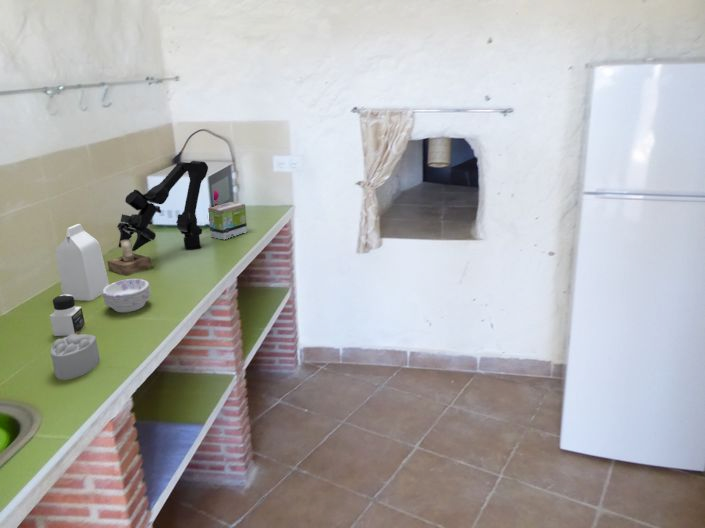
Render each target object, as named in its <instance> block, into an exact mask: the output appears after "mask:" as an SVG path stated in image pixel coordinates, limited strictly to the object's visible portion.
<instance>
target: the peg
mask: <svg viewBox="0 0 705 528" xmlns="http://www.w3.org/2000/svg"><path fill="white" fill-rule="evenodd" d="M119 241H120V240H119ZM120 242H121V252H122V256H123V259H124V262H126V263H128V262H131V261H134V256H133V253H134V251H132V248H133V245H132V240H131V238H130V239H126V240H122V241H120Z"/></svg>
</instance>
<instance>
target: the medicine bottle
mask: <svg viewBox="0 0 705 528" xmlns="http://www.w3.org/2000/svg"><path fill="white" fill-rule="evenodd" d="M52 304H53V309H54V311H53V312H52V313H51V314H50V315H49V320H50V325H51V329H52V333H53V336H54V337H67V336H69V335H71V334H78V335H79V333H80V332H81V331H82V330H83V329H84V328H85V327H86V323H85V318H84V313H83V308H82V306H76V302H75V300H74V297H73V296H72V295H68V294H65V295H62V294H60V295H58V296H56V297H54V298H53V299H52Z"/></svg>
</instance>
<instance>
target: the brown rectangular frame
mask: <svg viewBox="0 0 705 528" xmlns="http://www.w3.org/2000/svg"><path fill="white" fill-rule="evenodd" d="M133 256H134V261H131V262H128V263H126V262H124V259H123V255H122V256H119V257H116V258H113V259H109V260H107V267H108V271H111V272H113V273H116V274H119V275H123V276H129V275H132V274H135V273H138V272H140V271H143V270H146V269H150V268H152V261H151V257H148V256H145V255H142V254H138V253H134V252H133ZM149 267H150V268H149Z"/></svg>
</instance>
